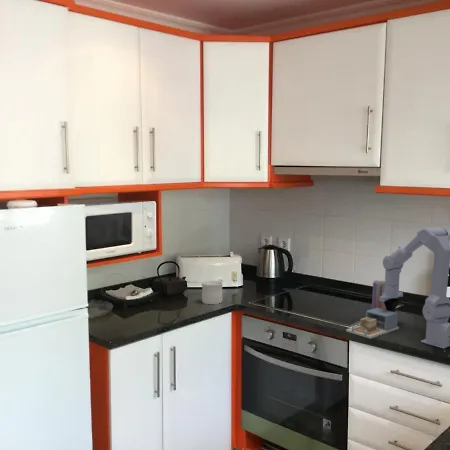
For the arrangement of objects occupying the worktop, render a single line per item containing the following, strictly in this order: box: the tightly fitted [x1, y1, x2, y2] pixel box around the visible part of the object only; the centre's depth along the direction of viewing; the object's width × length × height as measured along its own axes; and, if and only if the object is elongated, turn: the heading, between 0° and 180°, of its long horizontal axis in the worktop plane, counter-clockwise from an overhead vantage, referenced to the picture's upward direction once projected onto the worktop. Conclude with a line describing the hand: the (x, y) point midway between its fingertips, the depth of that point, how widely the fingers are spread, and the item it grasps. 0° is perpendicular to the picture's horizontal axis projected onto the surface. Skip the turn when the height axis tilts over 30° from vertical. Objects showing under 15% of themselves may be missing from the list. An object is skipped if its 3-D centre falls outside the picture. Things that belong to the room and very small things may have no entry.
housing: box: [365, 308, 399, 330], centre depth 225 cm, size 10×8×6 cm
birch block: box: [359, 316, 377, 332], centre depth 219 cm, size 4×4×4 cm
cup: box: [201, 280, 224, 305], centre depth 262 cm, size 10×10×10 cm
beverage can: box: [371, 279, 386, 310], centre depth 244 cm, size 6×6×15 cm
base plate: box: [345, 320, 400, 339], centre depth 222 cm, size 12×20×3 cm, turn 130°
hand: (390, 315), depth 229 cm, fingers closed
